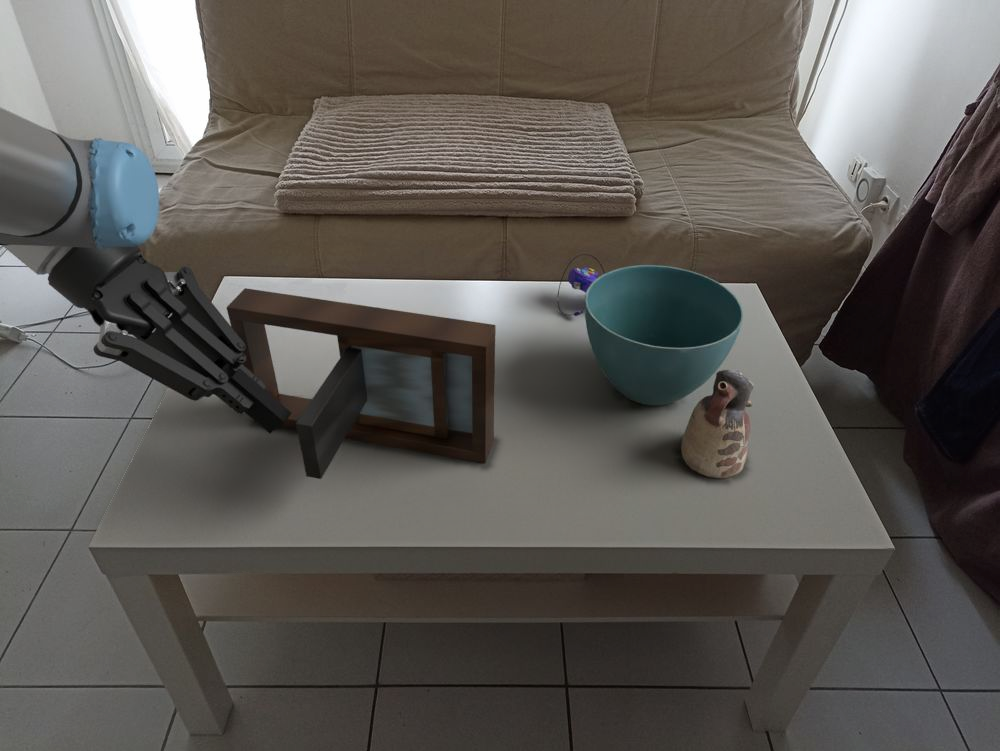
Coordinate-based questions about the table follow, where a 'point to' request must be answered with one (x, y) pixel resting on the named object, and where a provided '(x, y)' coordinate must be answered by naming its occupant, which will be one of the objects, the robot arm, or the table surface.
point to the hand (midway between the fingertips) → (280, 423)
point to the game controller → (581, 280)
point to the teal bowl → (660, 330)
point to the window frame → (458, 338)
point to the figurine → (720, 428)
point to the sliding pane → (374, 397)
